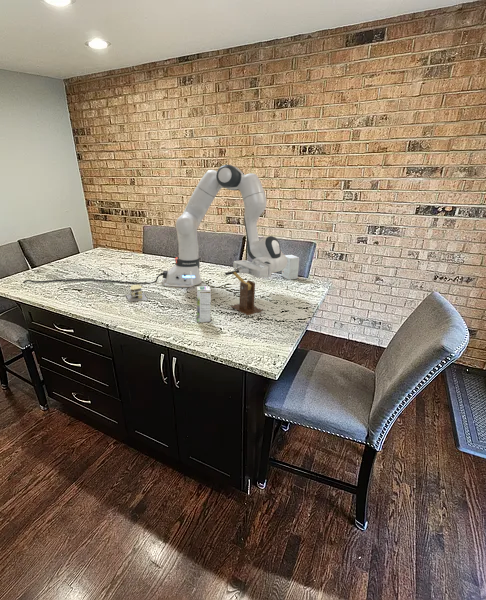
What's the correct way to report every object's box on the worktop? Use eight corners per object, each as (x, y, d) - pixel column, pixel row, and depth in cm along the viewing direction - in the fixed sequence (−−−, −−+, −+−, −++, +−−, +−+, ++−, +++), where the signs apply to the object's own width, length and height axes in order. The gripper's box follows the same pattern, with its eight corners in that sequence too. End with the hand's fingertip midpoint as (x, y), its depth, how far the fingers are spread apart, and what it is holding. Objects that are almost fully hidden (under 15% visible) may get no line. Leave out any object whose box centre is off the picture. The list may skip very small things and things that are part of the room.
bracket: (230, 308, 157) (231, 280, 152) (245, 304, 162) (246, 277, 157) (247, 317, 148) (248, 288, 143) (262, 313, 152) (264, 284, 147)
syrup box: (196, 316, 149) (196, 285, 143) (209, 316, 149) (209, 285, 144) (197, 322, 143) (196, 290, 138) (211, 321, 144) (211, 290, 139)
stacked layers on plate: (126, 295, 174) (125, 285, 172) (143, 293, 178) (142, 283, 176) (129, 301, 166) (128, 291, 164) (147, 299, 169) (146, 289, 167)
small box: (297, 278, 200) (299, 257, 195) (288, 280, 198) (290, 258, 193) (290, 275, 207) (292, 254, 202) (281, 276, 205) (282, 255, 200)
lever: (224, 275, 156) (225, 271, 154) (240, 272, 160) (241, 268, 159) (240, 292, 148) (242, 288, 147) (256, 288, 153) (257, 284, 151)
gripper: (246, 255, 172) (224, 259, 165) (274, 264, 156) (251, 269, 149) (245, 267, 174) (224, 271, 167) (273, 277, 158) (250, 283, 151)
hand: (237, 270), depth 158 cm, fingers closed, pressing on lever
